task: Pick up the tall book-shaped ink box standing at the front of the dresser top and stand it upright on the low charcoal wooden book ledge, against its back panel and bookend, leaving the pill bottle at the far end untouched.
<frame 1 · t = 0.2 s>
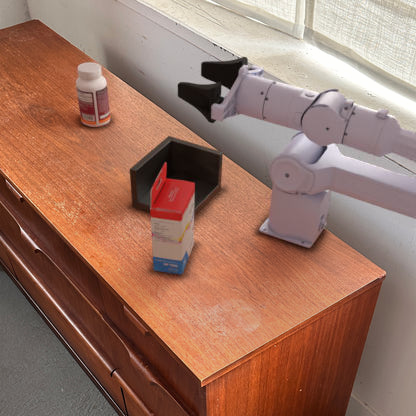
hand: (190, 78, 98), 21 cm above the dresser, tool horizontal, fingers open, 7 cm apart
ink box: (174, 258, 102), on the dresser
pill bottle: (95, 121, 131), on the dresser
book ledge: (177, 198, 113), on the dresser
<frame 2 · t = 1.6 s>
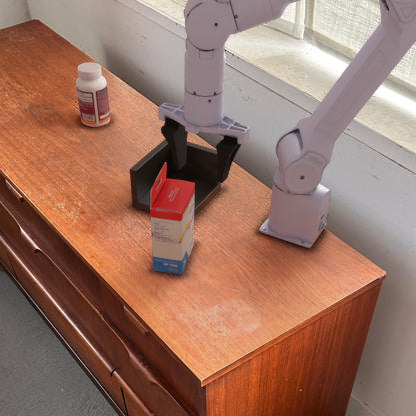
hand: (201, 172, 100), 10 cm above the dresser, tool pointing down, fingers open, 7 cm apart
nothing on the dresser moved.
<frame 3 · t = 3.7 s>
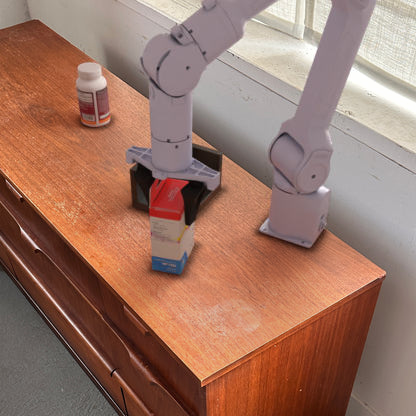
hand: (172, 216, 96), 8 cm above the dresser, tool pointing down, fingers closed on ink box, 5 cm apart
ink box: (173, 258, 102), on the dresser, touching gripper
everything else where it was.
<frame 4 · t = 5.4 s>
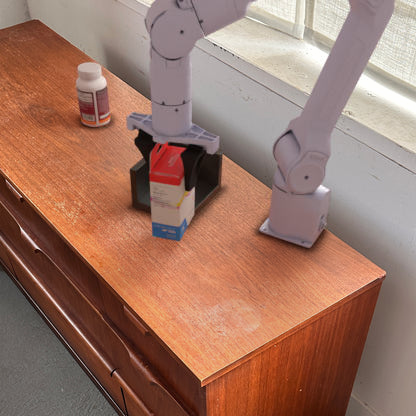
hand: (173, 182, 98), 10 cm above the dresser, tool pointing down, fingers closed on ink box, 5 cm apart
ink box: (173, 226, 104), point 2 cm above the dresser, touching gripper
everything else where it was.
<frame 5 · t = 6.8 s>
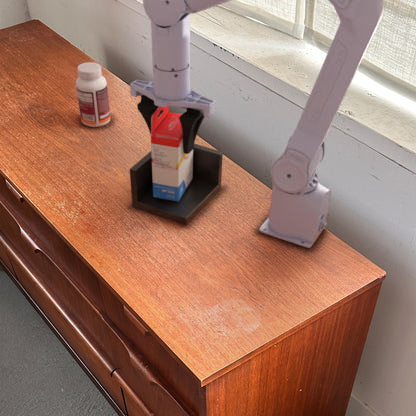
hand: (172, 146, 106), 10 cm above the dresser, tool pointing down, fingers closed on ink box, 5 cm apart
ink box: (173, 188, 112), point 2 cm above the dresser, touching gripper
everything else where it was.
when the fingers open (9 cm above the dresser, at t = 7.5 s): ink box stays where it is, resting on book ledge.
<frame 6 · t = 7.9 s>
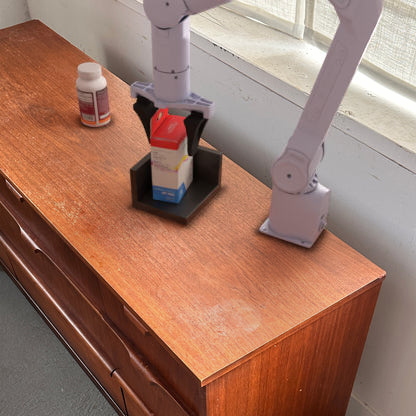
hand: (172, 147, 106), 10 cm above the dresser, tool pointing down, fingers open, 7 cm apart
ink box: (173, 190, 112), point 1 cm above the dresser, touching book ledge
everything else where it was.
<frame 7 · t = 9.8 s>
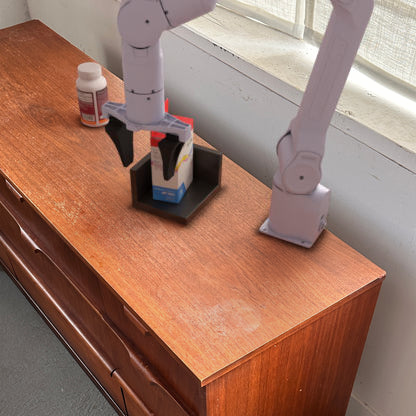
hand: (148, 170, 100), 10 cm above the dresser, tool pointing down, fingers open, 7 cm apart
nothing on the dresser moved.
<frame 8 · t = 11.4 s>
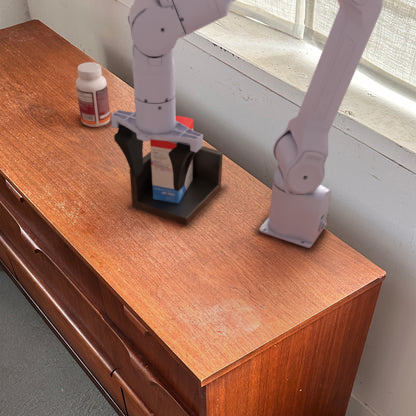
hand: (158, 180, 98), 10 cm above the dresser, tool pointing down, fingers open, 7 cm apart
nothing on the dresser moved.
at the end: ink box inside the target area on the book ledge (0.3 cm from its centre), point 1.3 cm above the book ledge's base; ink box tilted 0°; pill bottle moved 0.2 cm from its start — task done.
